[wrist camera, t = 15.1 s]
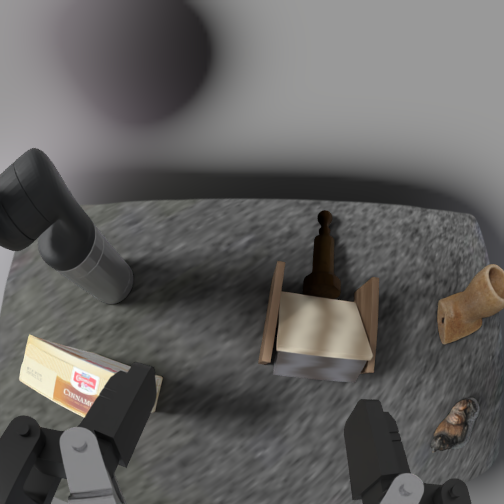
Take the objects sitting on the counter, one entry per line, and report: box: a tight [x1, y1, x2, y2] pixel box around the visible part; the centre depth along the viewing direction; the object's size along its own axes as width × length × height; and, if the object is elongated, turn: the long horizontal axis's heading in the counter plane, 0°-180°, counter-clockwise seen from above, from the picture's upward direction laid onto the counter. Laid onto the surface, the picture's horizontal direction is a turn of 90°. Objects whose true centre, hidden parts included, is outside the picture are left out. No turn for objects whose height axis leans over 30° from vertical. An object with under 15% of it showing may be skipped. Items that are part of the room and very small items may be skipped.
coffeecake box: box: [19, 334, 163, 417], centre depth 35 cm, size 15×7×20 cm, turn 79°
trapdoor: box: [273, 291, 373, 382], centre depth 45 cm, size 14×14×6 cm
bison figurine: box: [431, 398, 480, 452], centre depth 38 cm, size 12×7×10 cm
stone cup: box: [437, 264, 504, 344], centre depth 44 cm, size 15×12×15 cm
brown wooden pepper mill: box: [303, 210, 341, 299], centre depth 53 cm, size 7×6×18 cm
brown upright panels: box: [258, 261, 379, 374], centre depth 46 cm, size 17×16×8 cm
